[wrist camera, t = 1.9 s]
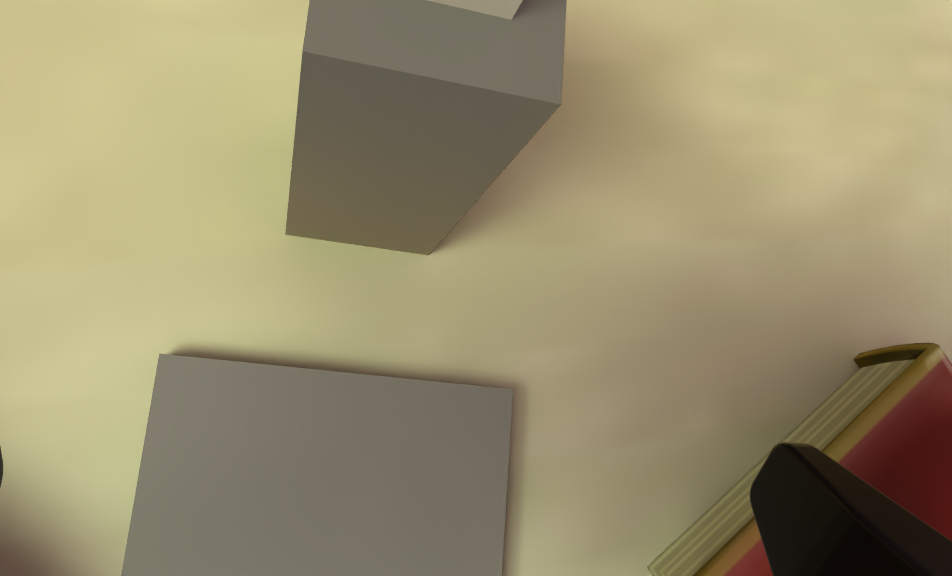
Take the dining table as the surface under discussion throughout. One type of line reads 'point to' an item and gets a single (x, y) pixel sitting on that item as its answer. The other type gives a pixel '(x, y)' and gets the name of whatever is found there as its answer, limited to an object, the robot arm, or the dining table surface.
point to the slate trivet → (318, 474)
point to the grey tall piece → (415, 112)
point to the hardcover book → (847, 458)
